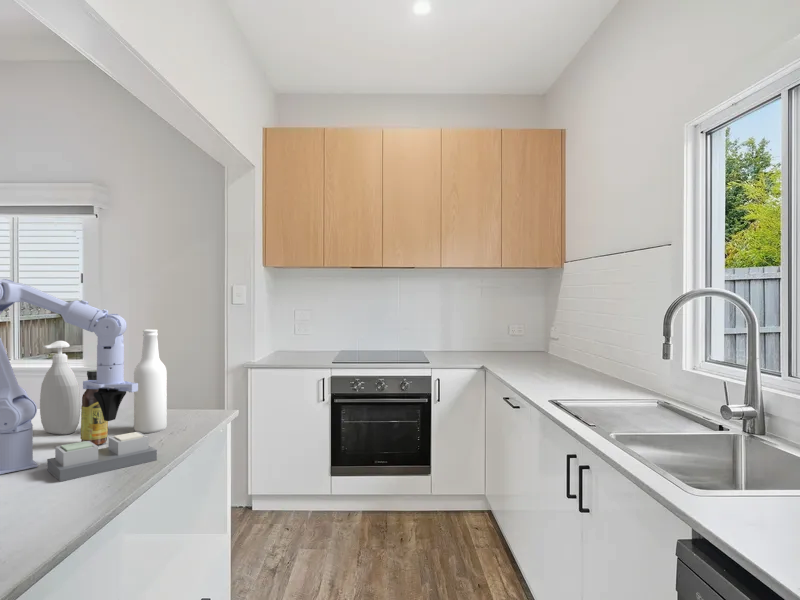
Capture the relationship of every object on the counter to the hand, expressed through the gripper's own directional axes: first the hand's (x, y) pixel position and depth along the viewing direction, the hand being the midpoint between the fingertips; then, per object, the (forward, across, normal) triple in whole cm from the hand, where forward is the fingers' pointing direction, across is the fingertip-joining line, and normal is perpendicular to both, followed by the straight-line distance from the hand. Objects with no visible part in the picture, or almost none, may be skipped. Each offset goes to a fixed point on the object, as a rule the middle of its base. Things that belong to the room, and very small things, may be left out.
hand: (109, 420), depth 123 cm
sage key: (+6, -1, -8) cm, 10 cm away
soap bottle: (+10, -35, +16) cm, 40 cm away
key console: (+10, +1, -3) cm, 10 cm away
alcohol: (+10, -11, +26) cm, 30 cm away
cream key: (+6, +4, +2) cm, 7 cm away
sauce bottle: (+10, -15, +10) cm, 21 cm away
